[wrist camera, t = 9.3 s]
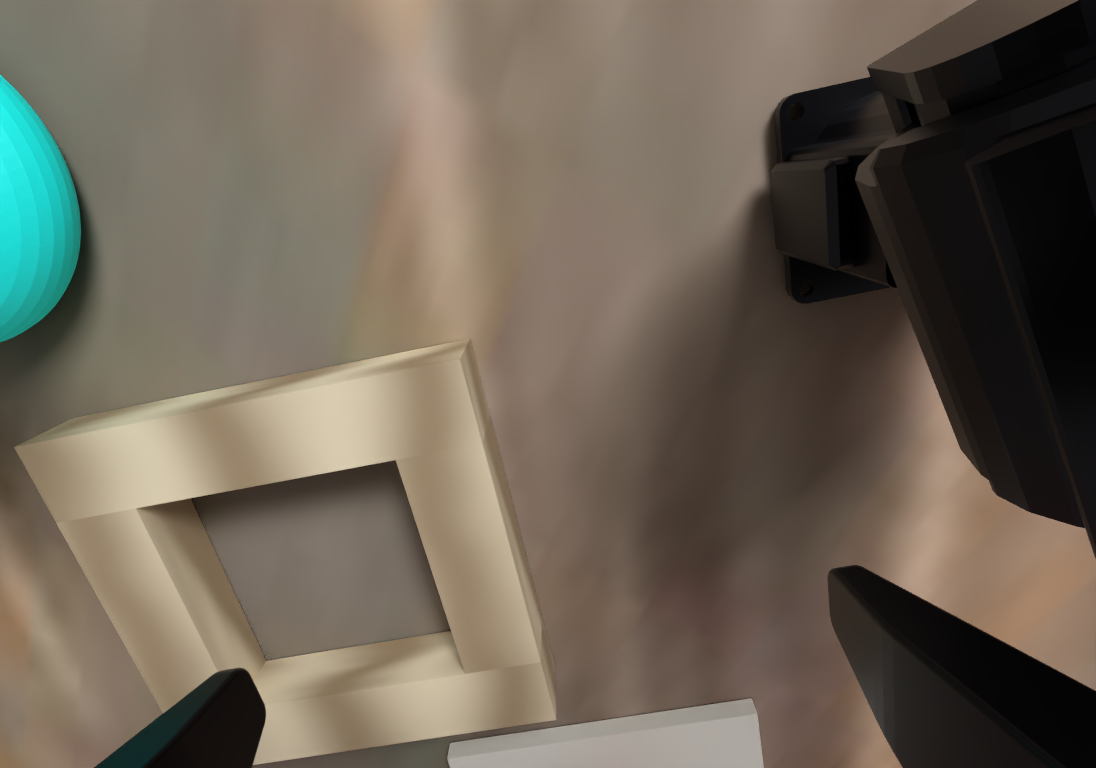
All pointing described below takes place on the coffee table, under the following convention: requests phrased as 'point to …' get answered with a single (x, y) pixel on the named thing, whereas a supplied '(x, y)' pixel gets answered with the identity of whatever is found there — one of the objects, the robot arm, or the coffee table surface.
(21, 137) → the donuts
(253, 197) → the coffee table surface
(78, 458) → the can holder
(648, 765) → the white pad
